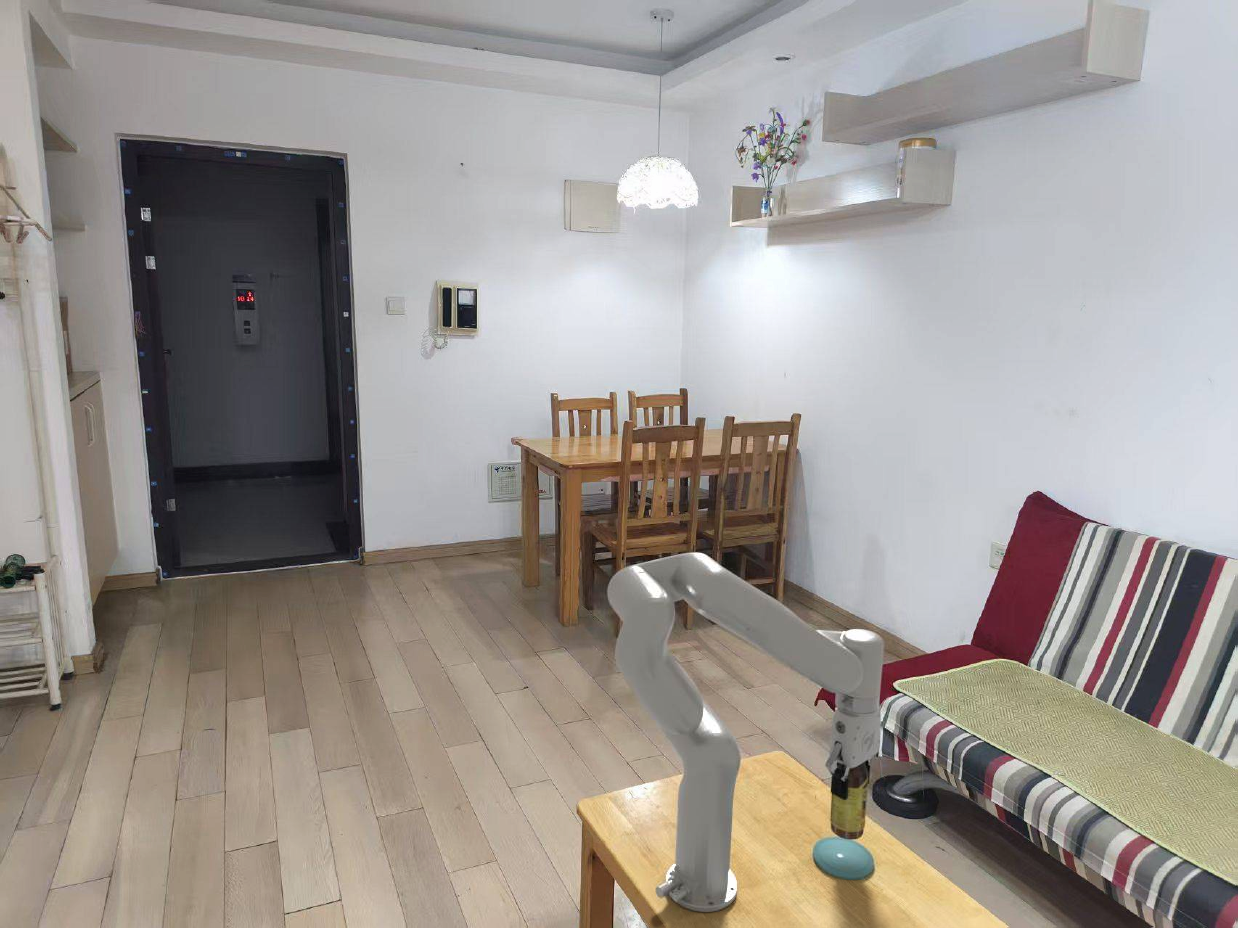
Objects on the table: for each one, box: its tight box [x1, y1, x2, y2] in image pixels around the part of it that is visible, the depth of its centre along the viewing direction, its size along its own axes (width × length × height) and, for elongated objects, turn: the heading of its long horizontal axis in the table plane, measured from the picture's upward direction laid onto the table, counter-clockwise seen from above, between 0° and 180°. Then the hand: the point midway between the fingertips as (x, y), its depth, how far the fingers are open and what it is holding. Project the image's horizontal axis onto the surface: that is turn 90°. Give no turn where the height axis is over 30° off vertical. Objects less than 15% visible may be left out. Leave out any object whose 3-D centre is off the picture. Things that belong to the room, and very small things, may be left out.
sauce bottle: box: [829, 756, 869, 841], centre depth 148 cm, size 6×6×20 cm
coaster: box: [812, 836, 875, 881], centre depth 151 cm, size 11×11×1 cm
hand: (849, 788), depth 148 cm, fingers closed on sauce bottle, 6 cm apart
